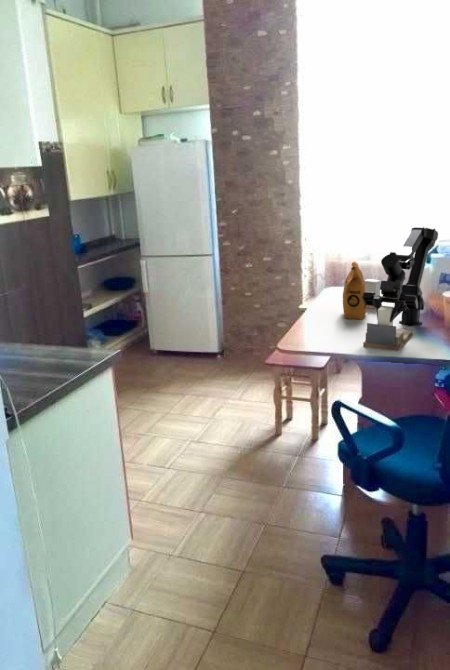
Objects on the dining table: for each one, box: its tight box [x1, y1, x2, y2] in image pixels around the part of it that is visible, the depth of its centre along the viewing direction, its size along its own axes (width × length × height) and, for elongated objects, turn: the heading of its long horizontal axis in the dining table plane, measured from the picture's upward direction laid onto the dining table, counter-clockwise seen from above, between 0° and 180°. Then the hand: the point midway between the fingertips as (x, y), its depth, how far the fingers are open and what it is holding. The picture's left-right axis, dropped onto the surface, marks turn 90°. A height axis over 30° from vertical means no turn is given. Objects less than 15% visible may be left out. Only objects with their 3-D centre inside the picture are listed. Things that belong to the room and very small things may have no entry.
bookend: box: [366, 322, 397, 346], centre depth 192 cm, size 1×10×7 cm, turn 59°
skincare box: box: [364, 278, 382, 309], centre depth 244 cm, size 6×4×12 cm
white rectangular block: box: [376, 305, 394, 326], centre depth 195 cm, size 5×4×11 cm
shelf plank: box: [362, 328, 413, 352], centre depth 201 cm, size 20×12×4 cm, turn 148°
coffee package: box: [342, 261, 367, 320], centre depth 231 cm, size 10×12×22 cm
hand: (384, 321), depth 194 cm, fingers closed on white rectangular block, 4 cm apart
